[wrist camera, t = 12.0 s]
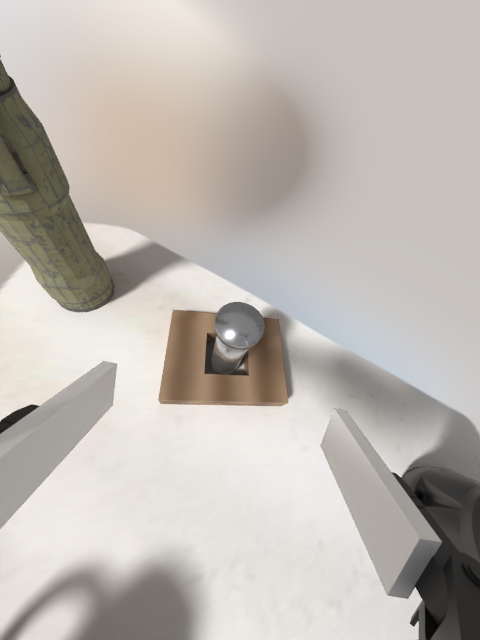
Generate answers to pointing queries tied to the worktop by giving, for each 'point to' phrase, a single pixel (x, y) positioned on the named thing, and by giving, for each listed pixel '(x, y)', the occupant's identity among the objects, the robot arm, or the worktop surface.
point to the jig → (215, 389)
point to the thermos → (44, 210)
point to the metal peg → (235, 335)
